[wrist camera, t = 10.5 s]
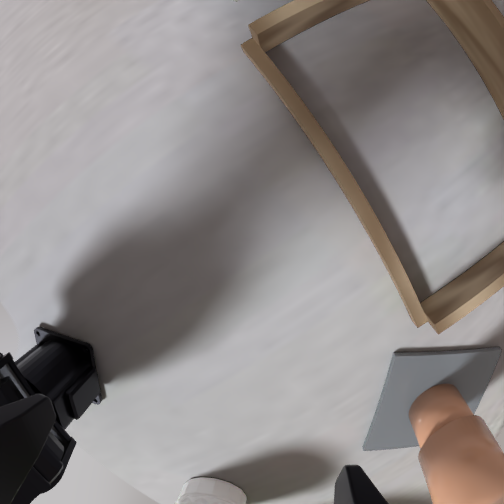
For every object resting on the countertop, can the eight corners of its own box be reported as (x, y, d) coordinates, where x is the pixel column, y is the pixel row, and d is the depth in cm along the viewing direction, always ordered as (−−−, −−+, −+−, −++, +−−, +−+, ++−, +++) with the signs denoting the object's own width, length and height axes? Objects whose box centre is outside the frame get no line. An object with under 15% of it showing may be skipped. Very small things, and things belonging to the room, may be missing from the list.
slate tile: (362, 446, 22) (363, 451, 22) (393, 352, 20) (395, 356, 19) (458, 435, 21) (460, 439, 21) (499, 346, 19) (502, 349, 18)
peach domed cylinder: (391, 412, 21) (426, 527, 10) (446, 367, 19) (510, 472, 9) (422, 437, 21) (457, 536, 10) (471, 398, 20) (526, 489, 9)
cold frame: (410, 318, 19) (441, 362, 14) (186, -12, 16) (157, -54, 10) (544, 215, 16) (592, 229, 11) (346, -81, 12) (355, -125, 7)
